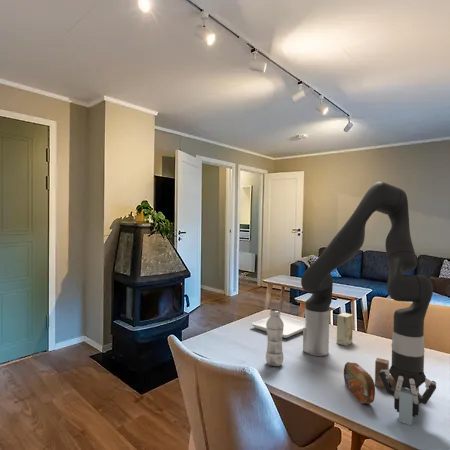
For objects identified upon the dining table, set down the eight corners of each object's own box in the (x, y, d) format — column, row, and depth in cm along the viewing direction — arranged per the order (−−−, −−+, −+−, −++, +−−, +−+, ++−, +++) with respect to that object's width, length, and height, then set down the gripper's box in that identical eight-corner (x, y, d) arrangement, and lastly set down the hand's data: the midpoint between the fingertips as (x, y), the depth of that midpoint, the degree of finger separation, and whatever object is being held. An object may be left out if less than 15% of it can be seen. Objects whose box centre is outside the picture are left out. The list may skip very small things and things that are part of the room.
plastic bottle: (284, 362, 123) (285, 308, 122) (281, 370, 116) (282, 313, 116) (267, 359, 125) (268, 306, 124) (263, 367, 118) (264, 311, 118)
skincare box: (345, 346, 138) (346, 317, 137) (336, 343, 141) (336, 315, 141) (352, 342, 142) (353, 314, 142) (343, 339, 145) (343, 312, 145)
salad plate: (286, 342, 143) (286, 334, 143) (250, 329, 158) (250, 322, 158) (313, 331, 157) (313, 323, 157) (278, 320, 173) (278, 313, 172)
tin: (342, 383, 108) (343, 357, 107) (351, 382, 108) (352, 357, 108) (366, 410, 93) (366, 380, 92) (376, 409, 93) (377, 380, 93)
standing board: (374, 385, 106) (375, 361, 106) (376, 381, 108) (377, 357, 108) (418, 397, 99) (418, 371, 99) (418, 392, 102) (419, 367, 102)
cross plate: (411, 425, 86) (412, 395, 86) (398, 421, 88) (399, 391, 87) (415, 400, 98) (416, 373, 97) (404, 397, 99) (404, 371, 99)
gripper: (439, 351, 87) (437, 415, 88) (381, 339, 95) (379, 398, 96) (439, 361, 81) (437, 430, 82) (376, 348, 89) (375, 411, 89)
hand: (406, 412), depth 89 cm, fingers closed on cross plate, 3 cm apart
